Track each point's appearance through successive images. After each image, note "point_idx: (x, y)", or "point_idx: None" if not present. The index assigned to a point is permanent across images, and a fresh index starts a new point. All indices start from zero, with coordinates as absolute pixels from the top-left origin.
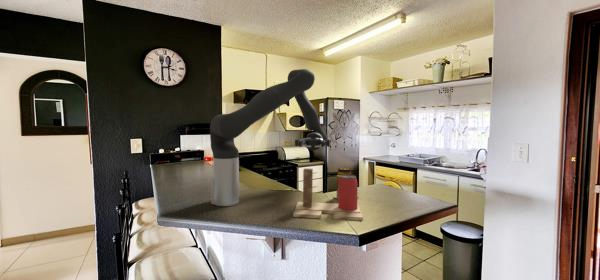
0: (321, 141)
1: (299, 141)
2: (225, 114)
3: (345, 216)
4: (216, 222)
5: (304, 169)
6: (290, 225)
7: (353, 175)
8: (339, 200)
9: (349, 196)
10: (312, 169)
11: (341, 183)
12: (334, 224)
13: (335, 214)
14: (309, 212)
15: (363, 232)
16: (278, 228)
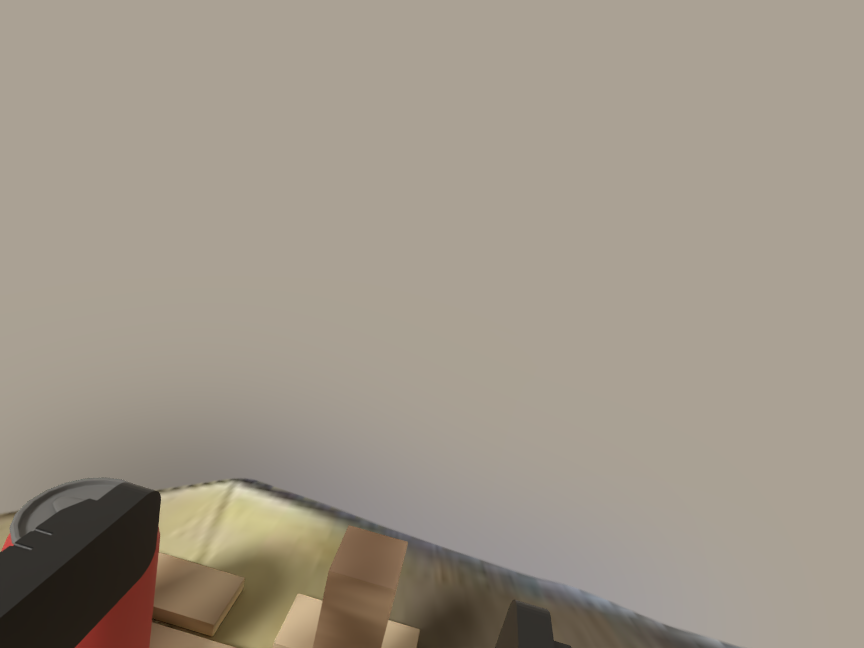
0: (148, 491)
1: (544, 609)
2: None
3: (196, 564)
4: (685, 632)
5: (398, 553)
6: (425, 566)
7: (17, 521)
8: (150, 630)
9: None
10: (334, 559)
11: (158, 528)
12: (267, 546)
13: (227, 590)
14: None
15: (207, 486)
16: (462, 554)
